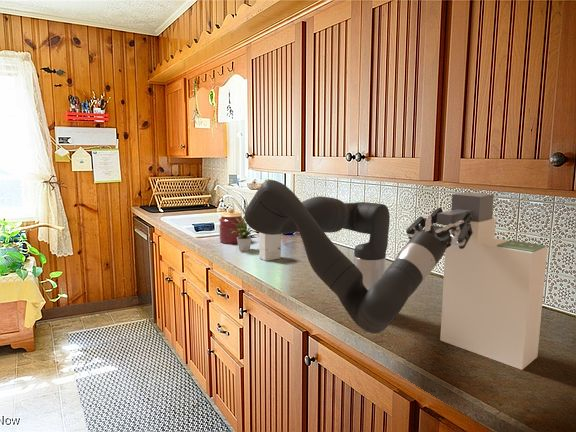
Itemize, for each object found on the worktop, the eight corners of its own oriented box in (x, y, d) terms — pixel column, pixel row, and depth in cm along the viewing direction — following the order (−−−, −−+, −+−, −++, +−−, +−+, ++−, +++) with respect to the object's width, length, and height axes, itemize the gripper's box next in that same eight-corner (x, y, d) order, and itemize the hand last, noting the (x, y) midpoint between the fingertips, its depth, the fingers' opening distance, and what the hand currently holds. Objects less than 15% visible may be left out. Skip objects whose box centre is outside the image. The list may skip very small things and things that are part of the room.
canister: (235, 237, 239) (235, 205, 236) (249, 241, 229) (248, 208, 226) (215, 241, 231) (214, 208, 228) (228, 245, 221) (227, 211, 218)
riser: (440, 340, 112) (446, 218, 107) (457, 330, 118) (464, 214, 113) (521, 369, 98) (534, 230, 92) (537, 357, 103) (549, 224, 98)
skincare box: (265, 261, 190) (264, 227, 188) (258, 258, 195) (258, 225, 193) (281, 258, 194) (281, 226, 192) (275, 255, 199) (274, 223, 197)
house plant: (221, 249, 212) (220, 216, 209) (244, 245, 221) (243, 213, 218) (239, 254, 201) (238, 220, 199) (262, 249, 210) (261, 216, 208)
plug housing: (430, 223, 101) (431, 197, 100) (464, 215, 112) (466, 192, 111) (458, 227, 96) (460, 200, 95) (491, 218, 107) (493, 194, 106)
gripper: (445, 250, 86) (482, 202, 94) (386, 238, 97) (423, 196, 105) (453, 278, 90) (488, 229, 98) (395, 264, 100) (430, 221, 108)
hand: (454, 212), depth 101 cm, fingers open, 6 cm apart
